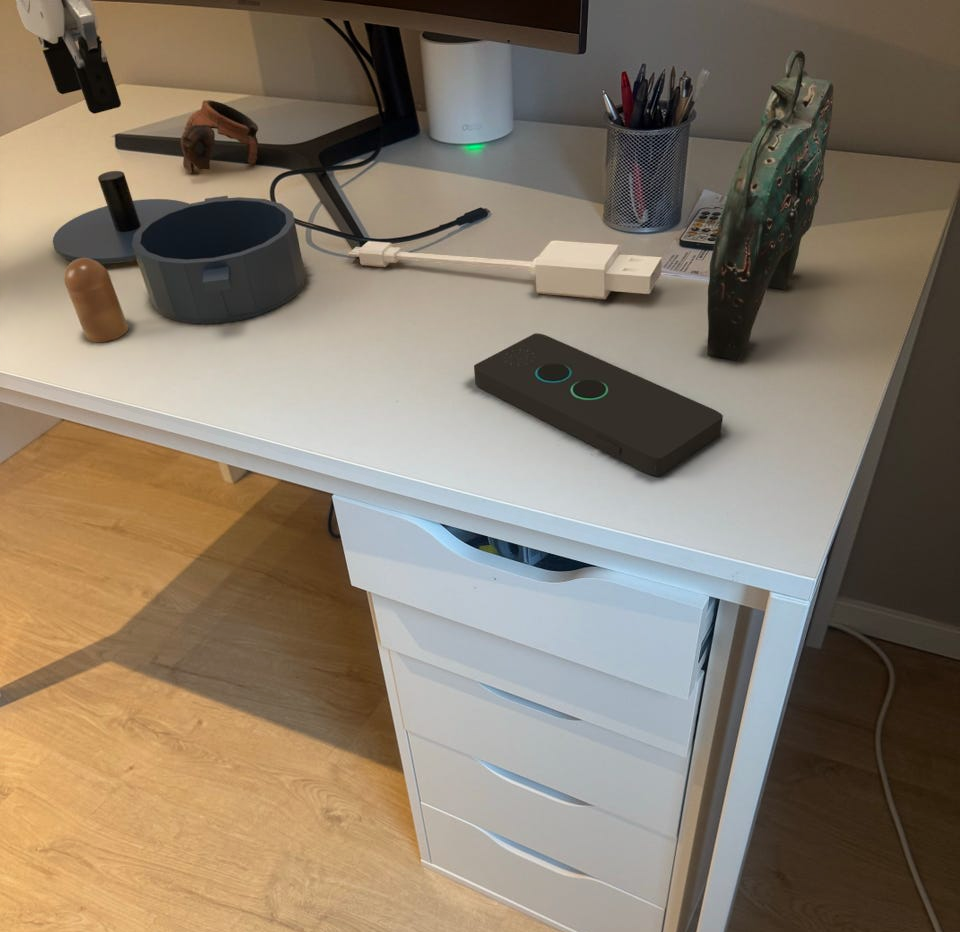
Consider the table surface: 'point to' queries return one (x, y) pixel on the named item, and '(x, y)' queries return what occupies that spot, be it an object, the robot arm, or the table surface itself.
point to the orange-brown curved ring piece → (202, 137)
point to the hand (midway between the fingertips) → (89, 99)
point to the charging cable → (549, 267)
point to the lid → (109, 224)
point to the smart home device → (599, 403)
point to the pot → (220, 259)
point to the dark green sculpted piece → (768, 207)
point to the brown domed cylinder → (95, 300)
